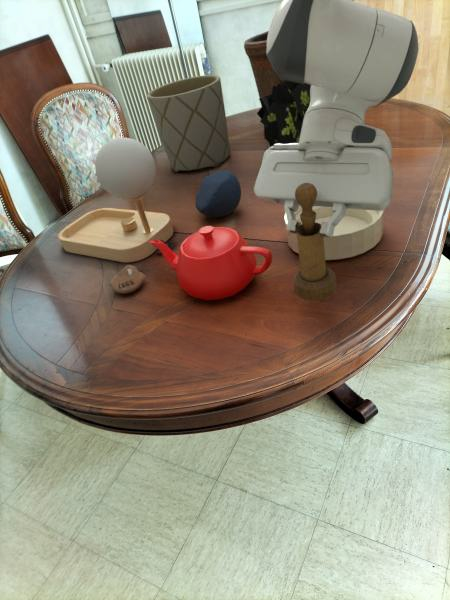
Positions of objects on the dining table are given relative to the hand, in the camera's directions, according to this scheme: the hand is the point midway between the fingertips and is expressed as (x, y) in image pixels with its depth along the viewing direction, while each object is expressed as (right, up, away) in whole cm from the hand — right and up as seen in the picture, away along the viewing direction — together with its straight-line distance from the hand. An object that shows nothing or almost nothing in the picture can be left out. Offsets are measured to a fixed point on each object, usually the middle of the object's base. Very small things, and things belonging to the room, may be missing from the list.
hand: (308, 234), depth 61 cm
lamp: (-38, +5, +45) cm, 59 cm away
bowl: (+10, +4, +26) cm, 28 cm away
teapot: (-14, -6, +22) cm, 26 cm away
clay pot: (+13, +50, +84) cm, 99 cm away
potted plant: (+13, +27, +55) cm, 63 cm away
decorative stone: (-13, +12, +45) cm, 48 cm away
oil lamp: (-32, -7, +27) cm, 43 cm away
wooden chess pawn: (+2, -8, +7) cm, 11 cm away
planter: (-20, +37, +79) cm, 89 cm away
